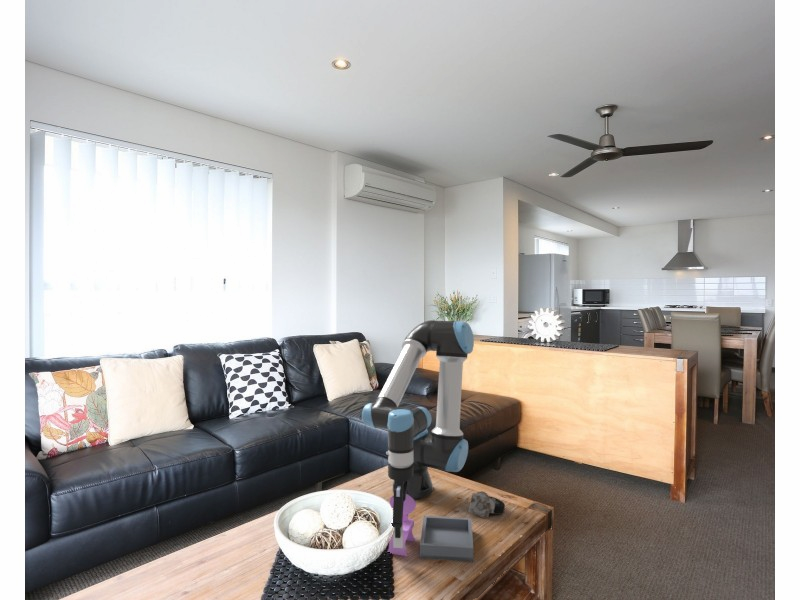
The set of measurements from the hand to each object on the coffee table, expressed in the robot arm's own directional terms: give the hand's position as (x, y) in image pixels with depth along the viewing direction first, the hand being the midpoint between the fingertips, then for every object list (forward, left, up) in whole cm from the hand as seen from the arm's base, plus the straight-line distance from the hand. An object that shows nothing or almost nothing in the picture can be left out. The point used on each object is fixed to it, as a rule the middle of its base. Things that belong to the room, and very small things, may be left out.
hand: (400, 534), depth 133 cm
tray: (-3, +14, -4) cm, 15 cm away
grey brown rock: (-24, +27, -4) cm, 36 cm away
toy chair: (0, 0, -4) cm, 4 cm away
